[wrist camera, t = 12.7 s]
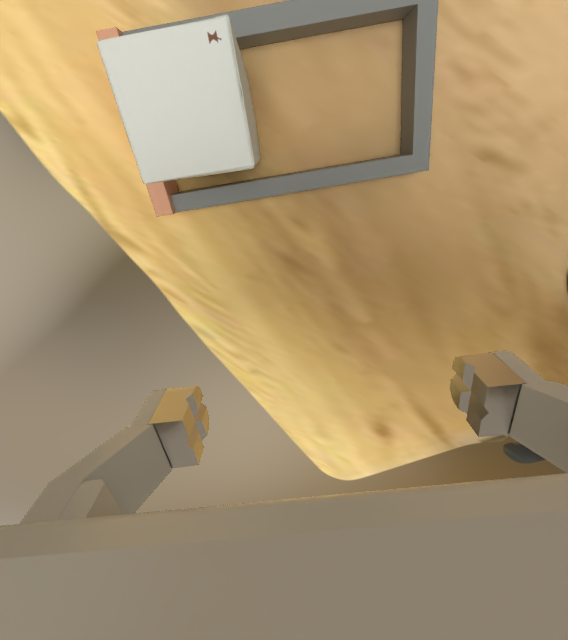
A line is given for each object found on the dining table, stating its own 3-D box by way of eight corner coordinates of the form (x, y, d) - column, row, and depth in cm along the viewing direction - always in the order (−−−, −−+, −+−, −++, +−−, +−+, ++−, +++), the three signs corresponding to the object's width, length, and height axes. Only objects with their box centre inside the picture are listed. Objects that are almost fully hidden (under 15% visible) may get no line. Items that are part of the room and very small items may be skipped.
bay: (422, -9, 25) (446, -36, 22) (415, 168, 31) (433, 170, 28) (119, 47, 26) (95, 31, 23) (169, 209, 32) (156, 216, 29)
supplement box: (163, 82, 28) (90, 32, 16) (247, 68, 27) (232, 8, 16) (187, 175, 31) (139, 186, 20) (262, 163, 31) (257, 168, 19)
